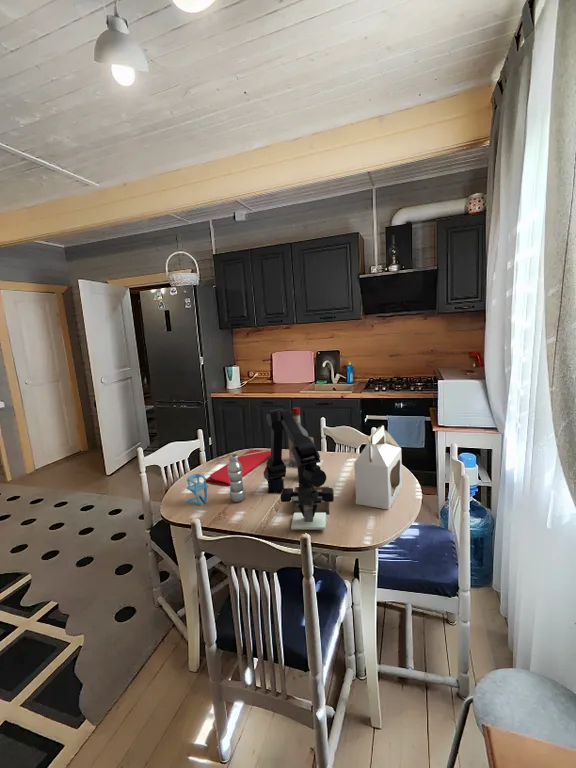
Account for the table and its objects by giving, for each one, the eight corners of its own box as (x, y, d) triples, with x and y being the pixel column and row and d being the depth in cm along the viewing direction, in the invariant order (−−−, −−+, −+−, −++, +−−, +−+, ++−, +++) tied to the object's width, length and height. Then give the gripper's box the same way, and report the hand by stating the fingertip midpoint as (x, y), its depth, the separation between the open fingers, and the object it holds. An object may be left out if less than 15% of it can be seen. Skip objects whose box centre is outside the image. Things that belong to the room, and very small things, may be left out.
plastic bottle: (233, 505, 157) (228, 459, 154) (228, 499, 163) (223, 455, 160) (248, 501, 160) (243, 456, 157) (242, 495, 166) (238, 451, 163)
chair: (197, 508, 158) (194, 481, 156) (185, 502, 163) (182, 476, 161) (212, 500, 163) (209, 474, 161) (200, 495, 169) (197, 470, 167)
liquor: (301, 468, 190) (297, 411, 185) (287, 465, 196) (283, 409, 191) (312, 462, 197) (308, 406, 192) (298, 459, 203) (294, 405, 198)
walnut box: (292, 514, 147) (291, 499, 146) (295, 500, 157) (294, 486, 156) (329, 514, 145) (328, 499, 144) (329, 500, 156) (328, 486, 155)
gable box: (372, 481, 170) (370, 421, 165) (402, 486, 164) (400, 423, 159) (355, 504, 151) (352, 436, 146) (388, 510, 145) (386, 440, 140)
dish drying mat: (203, 483, 183) (202, 476, 183) (250, 454, 219) (249, 448, 218) (230, 488, 176) (229, 480, 175) (273, 457, 211) (273, 450, 211)
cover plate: (291, 529, 134) (290, 516, 133) (294, 514, 144) (293, 502, 143) (325, 529, 132) (324, 516, 131) (326, 514, 142) (325, 502, 141)
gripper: (276, 486, 128) (280, 528, 131) (332, 485, 126) (334, 529, 128) (281, 473, 139) (284, 512, 142) (332, 472, 137) (334, 512, 139)
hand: (308, 516), depth 137 cm, fingers closed on cover plate, 3 cm apart
